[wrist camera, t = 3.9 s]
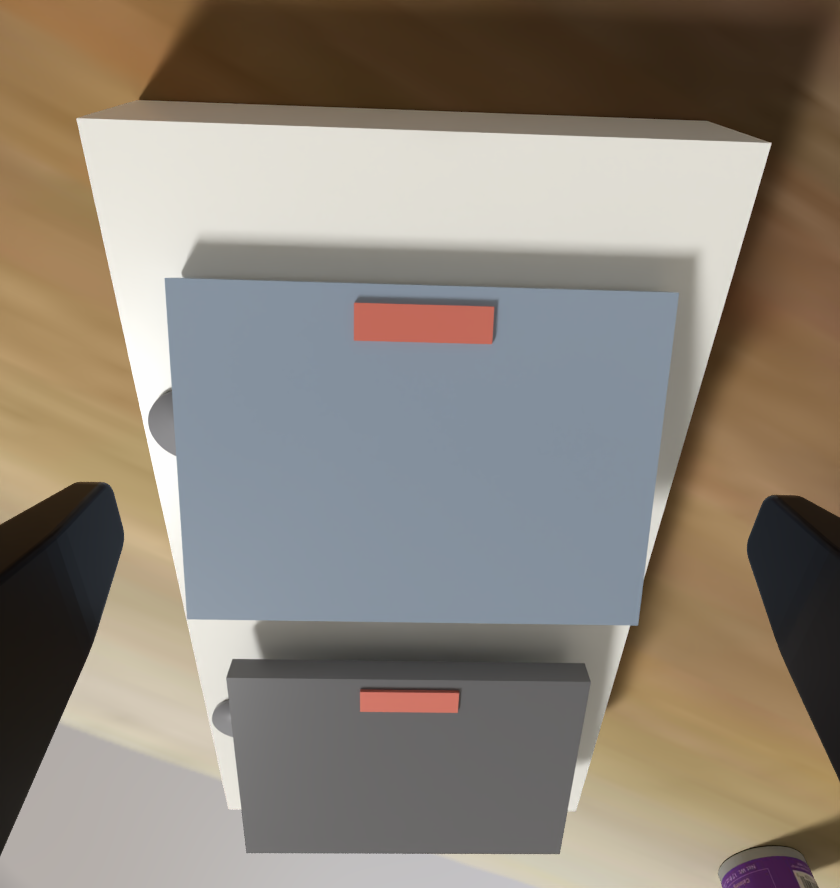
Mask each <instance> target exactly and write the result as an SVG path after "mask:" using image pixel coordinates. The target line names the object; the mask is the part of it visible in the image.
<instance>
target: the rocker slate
mask: <svg viewBox="0 0 840 888" xmlns="http://www.w3.org/2000/svg"><path fill="white" fill-rule="evenodd" d="M164 279H165V294H166V309H167V324H168V339H169V354H170V369H171V384H172V399H173V415H174V430H175V445H176V460H177V475H178V490H179V505H180V520H181V536H182V551H183V566H184V581H185V596H186V611H187V619H197V620H270V621H343V622H415V623H488V624H561V625H634V626H638V622H639V614H640V606H641V598H642V589H643V581H644V573H645V565H646V557H647V549H648V541H649V533H650V525H651V517H652V508H653V500H654V492H655V484H656V476H657V468H658V460H659V452H660V444H661V436H662V427H663V419H664V411H665V403H666V395H667V387H668V379H669V371H670V363H671V355H672V346H673V338H674V330H675V322H676V314H677V306H678V298H679V293H676V292H662V291H628V290H593V289H558V288H523V287H489V286H454V285H419V284H385V283H350V282H315V281H281V280H246V279H211V278H164Z"/></svg>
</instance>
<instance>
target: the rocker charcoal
mask: <svg viewBox="0 0 840 888" xmlns="http://www.w3.org/2000/svg"><path fill="white" fill-rule="evenodd" d="M226 681H227V690H228V698H229V707H230V715H231V724H232V733H233V741H234V750H235V758H236V767H237V776H238V784H239V793H240V801H241V810H242V818H243V827H244V836H245V845H246V853H403V854H406V853H407V854H411V853H412V854H415V853H417V854H419V853H420V854H560V849H561V844H562V838H563V833H564V827H565V822H566V816H567V811H568V805H569V800H570V794H571V789H572V783H573V778H574V772H575V767H576V761H577V756H578V750H579V745H580V739H581V734H582V728H583V723H584V717H585V712H586V707H587V701H588V696H589V690H590V685H591V681H590V678H589V675H588V672H587V669H586V666H585V663H533V662H450V661H367V660H284V659H232V662H231V665H230V668H229V671H228V674H227V677H226Z"/></svg>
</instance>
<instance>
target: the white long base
mask: <svg viewBox="0 0 840 888" xmlns="http://www.w3.org/2000/svg"><path fill="white" fill-rule="evenodd" d="M76 119H77V123H78V128H79V132H80V137H81V142H82V146H83V151H84V155H85V160H86V164H87V169H88V173H89V178H90V182H91V187H92V192H93V196H94V201H95V205H96V210H97V214H98V219H99V223H100V228H101V232H102V237H103V242H104V246H105V251H106V255H107V260H108V264H109V269H110V273H111V278H112V282H113V287H114V292H115V296H116V301H117V305H118V310H119V314H120V319H121V323H122V328H123V333H124V337H125V342H126V346H127V351H128V355H129V360H130V364H131V369H132V373H133V378H134V383H135V387H136V392H137V396H138V401H139V405H140V410H141V414H142V419H143V423H144V428H145V433H146V437H147V442H148V446H149V451H150V455H151V460H152V464H153V469H154V473H155V478H156V483H157V487H158V492H159V496H160V501H161V505H162V510H163V514H164V519H165V524H166V528H167V533H168V537H169V542H170V546H171V551H172V555H173V560H174V564H175V569H176V574H177V578H178V583H179V587H180V592H181V596H182V601H183V605H184V610H185V614H186V619H187V611H186V596H185V581H184V566H183V551H182V536H181V520H180V505H179V490H178V475H177V460H176V445H175V430H174V415H173V399H172V384H171V369H170V354H169V339H168V324H167V309H166V294H165V279H164V278H211V279H246V280H281V281H315V282H350V283H385V284H419V285H454V286H489V287H523V288H558V289H593V290H628V291H662V292H676V293H679V298H678V306H677V314H676V322H675V330H674V338H673V346H672V355H671V363H670V371H669V379H668V387H667V395H666V403H665V411H664V419H663V427H662V436H661V444H660V452H659V460H658V468H657V476H656V484H655V492H654V500H653V508H652V517H651V525H650V533H649V541H648V549H647V557H646V565H645V573H644V577H645V574H646V570H647V567H648V563H649V560H650V556H651V553H652V550H653V546H654V543H655V539H656V536H657V533H658V529H659V526H660V522H661V519H662V516H663V512H664V509H665V505H666V502H667V498H668V495H669V492H670V488H671V485H672V481H673V478H674V475H675V471H676V468H677V464H678V461H679V458H680V454H681V451H682V447H683V444H684V440H685V437H686V434H687V430H688V427H689V423H690V420H691V417H692V413H693V410H694V406H695V403H696V399H697V396H698V393H699V389H700V386H701V382H702V379H703V376H704V372H705V369H706V365H707V362H708V359H709V355H710V352H711V348H712V345H713V341H714V338H715V335H716V331H717V328H718V324H719V321H720V318H721V314H722V311H723V307H724V304H725V301H726V297H727V294H728V290H729V287H730V283H731V280H732V277H733V273H734V270H735V266H736V263H737V260H738V256H739V253H740V249H741V246H742V243H743V239H744V236H745V232H746V229H747V225H748V222H749V219H750V215H751V212H752V208H753V205H754V202H755V198H756V195H757V191H758V188H759V184H760V181H761V178H762V174H763V171H764V167H765V164H766V161H767V157H768V154H769V150H770V147H771V144H772V143H770V142H767V141H764V140H761V139H759V138H756V137H753V136H750V135H747V134H744V133H741V132H738V131H735V130H732V129H729V128H726V127H723V126H721V125H718V124H715V123H712V122H709V121H696V120H669V119H642V118H614V117H587V116H560V115H532V114H505V113H478V112H450V111H423V110H396V109H368V108H341V107H314V106H286V105H259V104H232V103H205V102H177V101H150V100H136V101H132V102H129V103H126V104H122V105H119V106H116V107H112V108H109V109H105V110H102V111H99V112H95V113H92V114H89V115H85V116H82V117H79V118H76ZM187 624H188V628H189V633H190V637H191V642H192V646H193V651H194V655H195V660H196V665H197V669H198V674H199V678H200V683H201V687H202V692H203V696H204V701H205V705H206V710H207V715H208V719H209V724H210V728H211V733H212V737H213V742H214V746H215V751H216V755H217V760H218V765H219V769H220V774H221V778H222V783H223V787H224V792H225V796H226V801H227V805H228V809H240V810H241V801H240V793H239V784H238V776H237V767H236V758H235V750H234V741H233V733H232V724H231V715H230V707H229V698H228V690H227V681H226V677H227V674H228V671H229V668H230V665H231V662H232V659H284V660H367V661H450V662H533V663H585V666H586V669H587V672H588V675H589V678H590V681H591V685H590V690H589V696H588V701H587V707H586V712H585V717H584V723H583V728H582V734H581V739H580V745H579V750H578V756H577V761H576V767H575V772H574V778H573V783H572V789H571V794H570V800H569V805H568V811H576V809H577V806H578V802H579V799H580V795H581V792H582V789H583V785H584V782H585V778H586V775H587V771H588V768H589V765H590V761H591V758H592V754H593V751H594V748H595V744H596V741H597V737H598V734H599V731H600V727H601V724H602V720H603V717H604V713H605V710H606V707H607V703H608V700H609V696H610V693H611V690H612V686H613V683H614V679H615V676H616V673H617V669H618V666H619V662H620V659H621V655H622V652H623V649H624V645H625V642H626V638H627V635H628V632H629V628H630V625H561V624H488V623H415V622H343V621H270V620H197V619H187Z"/></svg>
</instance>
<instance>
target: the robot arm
mask: <svg viewBox="0 0 840 888" xmlns="http://www.w3.org/2000/svg"><path fill="white" fill-rule="evenodd" d="M123 542H124V530H123V526H122V522H121V518H120V515H119V511H118V507H117V503H116V500H115V496H114V492H113V490H112V488H111V487H110V485H108V484H107V483H104V482H77V483H74V484H72V485H70V486H68V487H67V488H65V489H63V490H61V491H59V492H58V493H56V494H54V495H52V496H51V497H49V498H47V499H45V500H43V501H42V502H40V503H38V504H36V505H35V506H33V507H31V508H29V509H27V510H26V511H24V512H22V513H20V514H18V515H17V516H15V517H13V518H11V519H10V520H8V521H6V522H4V523H2V524H1V525H0V855H1V853H2V851H3V849H4V846H5V844H6V842H7V839H8V837H9V835H10V832H11V830H12V828H13V826H14V824H15V821H16V819H17V817H18V814H19V812H20V810H21V808H22V805H23V803H24V801H25V798H26V796H27V794H28V792H29V789H30V787H31V785H32V783H33V780H34V778H35V776H36V773H37V771H38V769H39V766H40V764H41V762H42V760H43V757H44V755H45V753H46V750H47V748H48V746H49V744H50V741H51V739H52V737H53V735H54V732H55V730H56V728H57V725H58V723H59V721H60V719H61V716H62V714H63V712H64V710H65V707H66V705H67V703H68V700H69V698H70V696H71V694H72V691H73V689H74V687H75V684H76V682H77V680H78V678H79V675H80V673H81V671H82V668H83V666H84V664H85V662H86V659H87V657H88V654H89V652H90V649H91V647H92V644H93V642H94V639H95V636H96V633H97V630H98V627H99V623H100V620H101V617H102V613H103V610H104V607H105V604H106V600H107V597H108V594H109V590H110V587H111V584H112V581H113V577H114V574H115V571H116V567H117V564H118V561H119V558H120V554H121V551H122V547H123ZM747 554H748V558H749V562H750V565H751V568H752V571H753V574H754V576H755V579H756V582H757V585H758V588H759V591H760V594H761V597H762V600H763V603H764V606H765V609H766V612H767V615H768V618H769V621H770V624H771V627H772V630H773V633H774V636H775V639H776V642H777V644H778V647H779V650H780V652H781V655H782V657H783V659H784V662H785V664H786V666H787V668H788V671H789V673H790V675H791V677H792V679H793V682H794V684H795V686H796V688H797V690H798V692H799V694H800V697H801V699H802V701H803V703H804V705H805V707H806V710H807V712H808V714H809V716H810V718H811V720H812V723H813V725H814V727H815V729H816V731H817V733H818V735H819V738H820V740H821V742H822V744H823V746H824V748H825V751H826V753H827V755H828V757H829V759H830V761H831V764H832V766H833V768H834V770H835V772H836V774H837V777H838V779H839V781H840V517H838V516H836V515H834V514H832V513H830V512H829V511H827V510H825V509H823V508H821V507H819V506H817V505H816V504H814V503H812V502H810V501H808V500H806V499H805V498H803V497H800V496H795V495H771V496H769V497H767V498H766V499H765V500H764V501H763V503H762V505H761V508H760V510H759V513H758V515H757V518H756V521H755V523H754V526H753V528H752V531H751V533H750V536H749V539H748V543H747Z"/></svg>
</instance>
